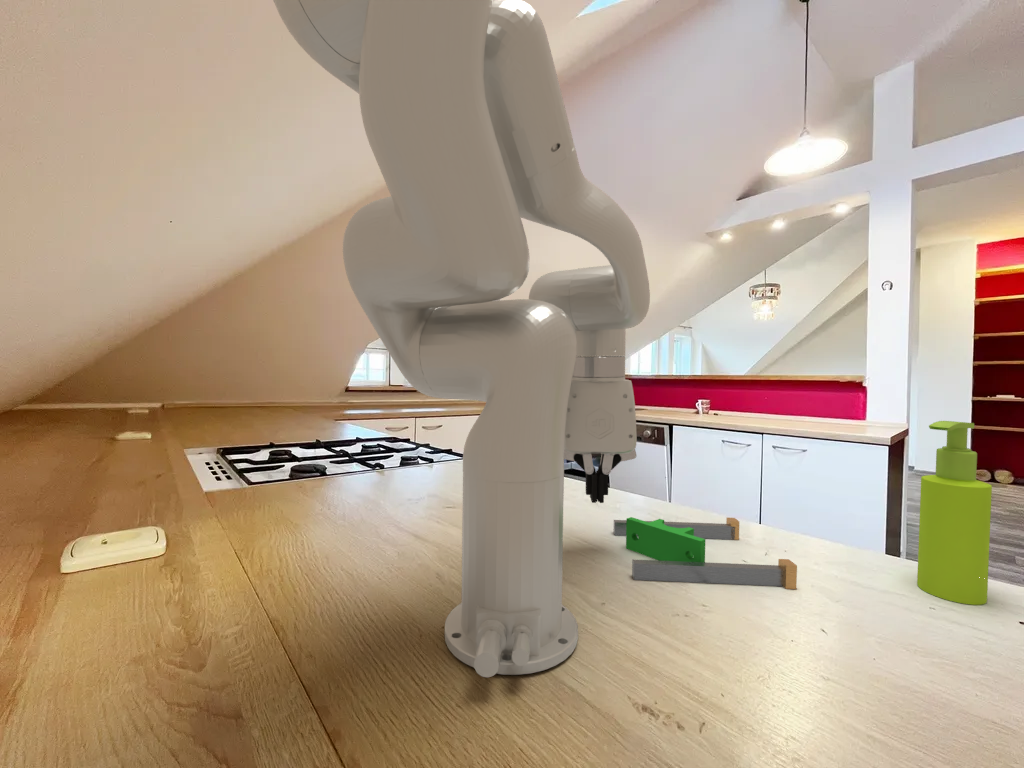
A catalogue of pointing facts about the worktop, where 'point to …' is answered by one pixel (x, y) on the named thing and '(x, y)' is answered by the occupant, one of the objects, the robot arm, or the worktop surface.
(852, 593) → the worktop surface
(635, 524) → the green block
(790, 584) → the chute
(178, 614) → the worktop surface
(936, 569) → the soap dispenser
